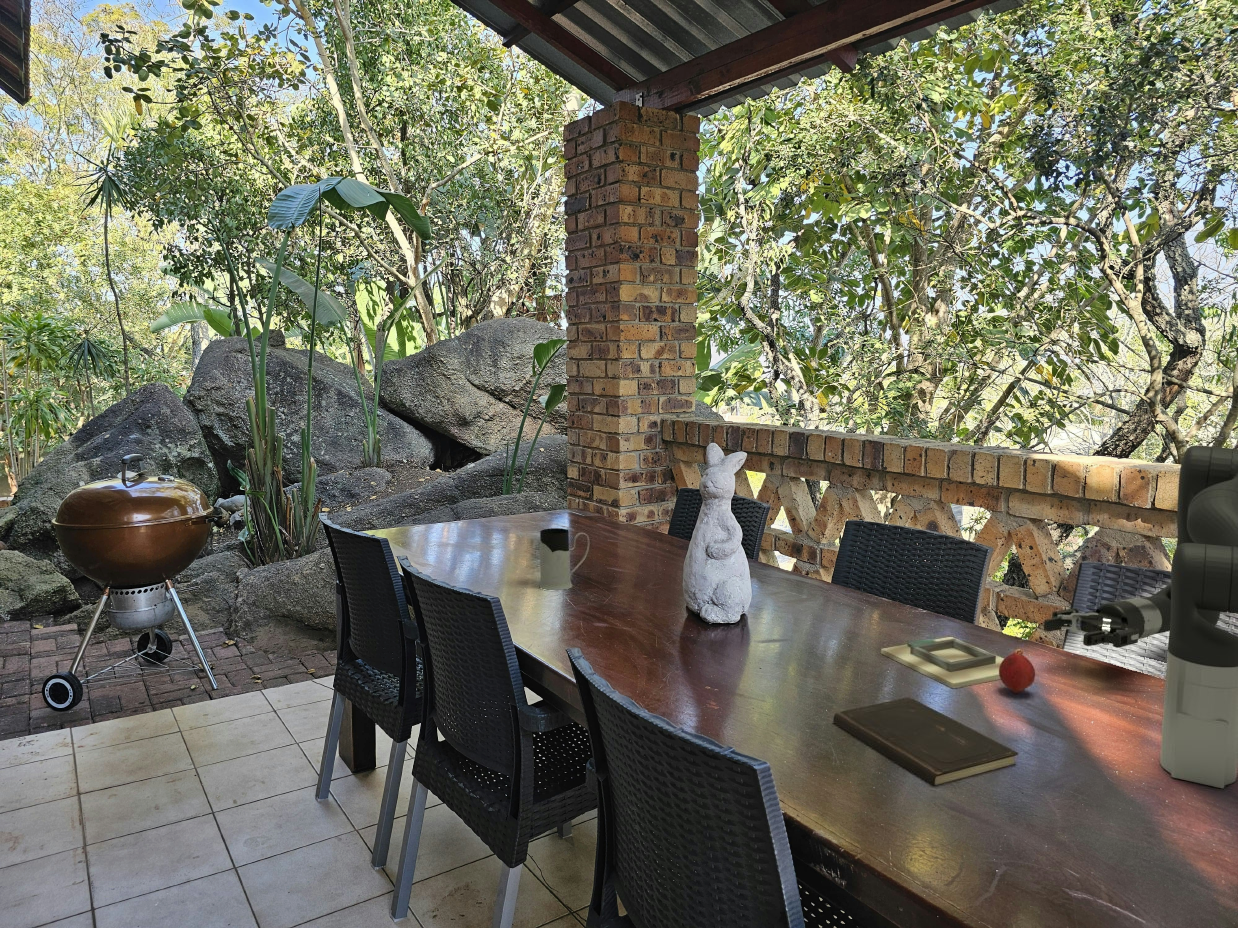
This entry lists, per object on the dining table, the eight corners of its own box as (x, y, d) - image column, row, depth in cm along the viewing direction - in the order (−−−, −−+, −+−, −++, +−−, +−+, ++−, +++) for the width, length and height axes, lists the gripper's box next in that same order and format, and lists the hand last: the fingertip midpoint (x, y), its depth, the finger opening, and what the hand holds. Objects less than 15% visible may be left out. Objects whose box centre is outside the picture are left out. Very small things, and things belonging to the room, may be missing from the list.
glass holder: (534, 584, 229) (533, 529, 227) (583, 578, 235) (582, 524, 233) (545, 592, 221) (544, 535, 219) (596, 585, 227) (595, 530, 225)
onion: (1013, 700, 150) (1015, 656, 149) (991, 688, 155) (992, 645, 154) (1041, 696, 151) (1043, 652, 150) (1018, 684, 157) (1020, 642, 156)
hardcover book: (909, 709, 148) (909, 696, 148) (1017, 767, 127) (1018, 752, 127) (832, 726, 142) (833, 712, 142) (933, 790, 121) (934, 774, 121)
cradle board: (1028, 673, 162) (1028, 660, 162) (953, 688, 155) (953, 675, 155) (950, 641, 180) (951, 629, 180) (881, 653, 174) (881, 641, 173)
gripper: (1095, 591, 168) (1033, 602, 162) (1165, 611, 155) (1100, 624, 149) (1093, 627, 169) (1031, 640, 163) (1162, 651, 156) (1098, 665, 150)
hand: (1064, 632), depth 156 cm, fingers open, 8 cm apart
